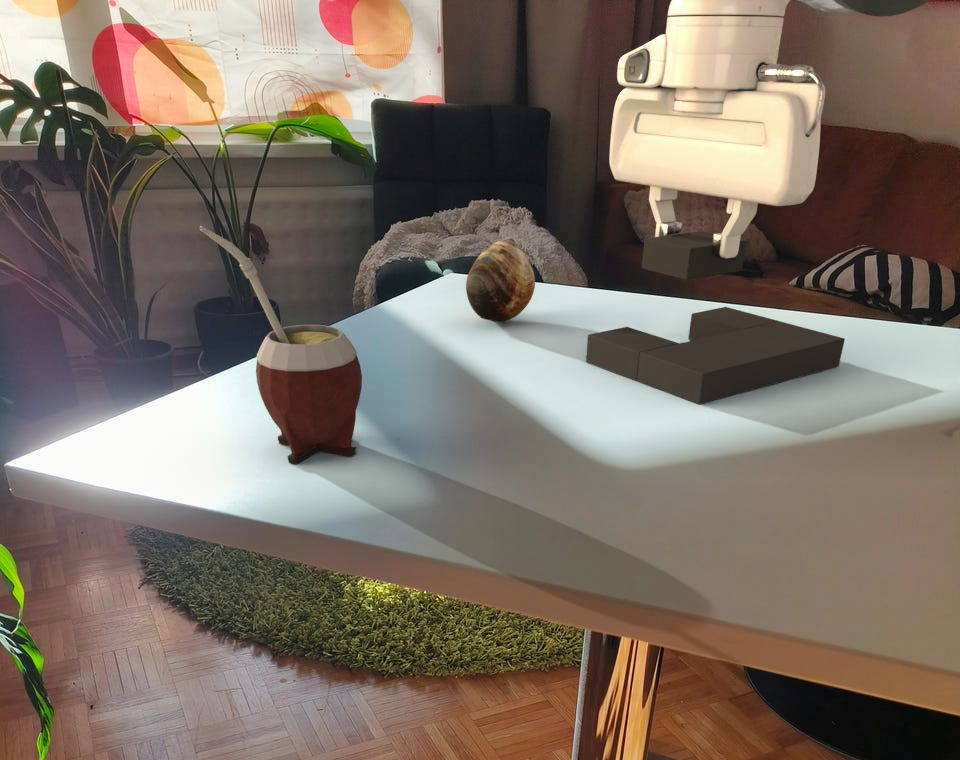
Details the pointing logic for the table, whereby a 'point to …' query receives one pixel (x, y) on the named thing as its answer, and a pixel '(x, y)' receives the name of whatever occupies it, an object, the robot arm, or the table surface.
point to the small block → (688, 256)
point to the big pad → (716, 354)
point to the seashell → (500, 282)
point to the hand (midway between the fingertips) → (694, 250)
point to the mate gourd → (305, 378)
